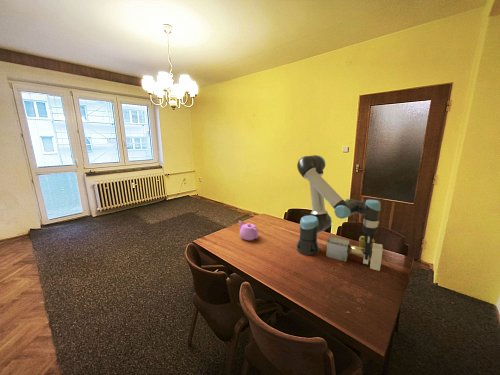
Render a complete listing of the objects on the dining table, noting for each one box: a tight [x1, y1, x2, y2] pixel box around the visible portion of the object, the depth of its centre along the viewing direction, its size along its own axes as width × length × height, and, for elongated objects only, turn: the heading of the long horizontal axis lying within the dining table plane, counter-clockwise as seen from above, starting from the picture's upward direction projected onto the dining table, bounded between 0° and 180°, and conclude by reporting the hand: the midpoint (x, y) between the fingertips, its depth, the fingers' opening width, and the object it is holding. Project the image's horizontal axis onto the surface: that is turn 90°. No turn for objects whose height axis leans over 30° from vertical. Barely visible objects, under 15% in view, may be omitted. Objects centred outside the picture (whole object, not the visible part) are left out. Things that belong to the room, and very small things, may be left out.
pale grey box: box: [325, 235, 350, 263], centre depth 135 cm, size 12×9×11 cm
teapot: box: [238, 220, 259, 241], centre depth 163 cm, size 20×13×12 cm, turn 48°
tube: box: [347, 244, 372, 259], centre depth 129 cm, size 17×5×5 cm, turn 58°
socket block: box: [369, 243, 384, 272], centre depth 124 cm, size 5×9×12 cm, turn 148°
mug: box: [358, 235, 376, 250], centre depth 144 cm, size 12×10×10 cm
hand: (365, 261), depth 128 cm, fingers closed on tube, 5 cm apart
